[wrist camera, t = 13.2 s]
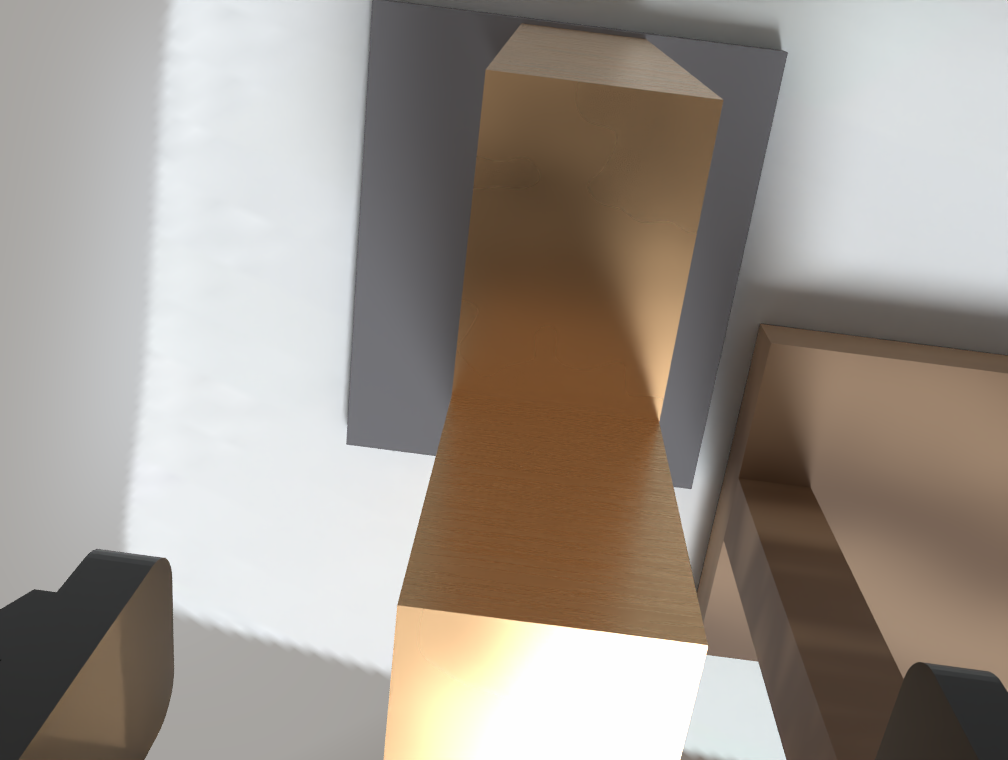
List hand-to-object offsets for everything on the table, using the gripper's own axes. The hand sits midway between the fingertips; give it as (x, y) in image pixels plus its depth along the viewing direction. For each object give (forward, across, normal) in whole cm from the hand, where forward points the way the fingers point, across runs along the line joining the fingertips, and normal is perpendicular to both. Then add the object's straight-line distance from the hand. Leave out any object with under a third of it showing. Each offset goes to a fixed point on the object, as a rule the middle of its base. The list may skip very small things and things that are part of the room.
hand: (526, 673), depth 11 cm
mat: (+17, 0, 0) cm, 17 cm away
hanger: (+16, 0, 0) cm, 16 cm away
